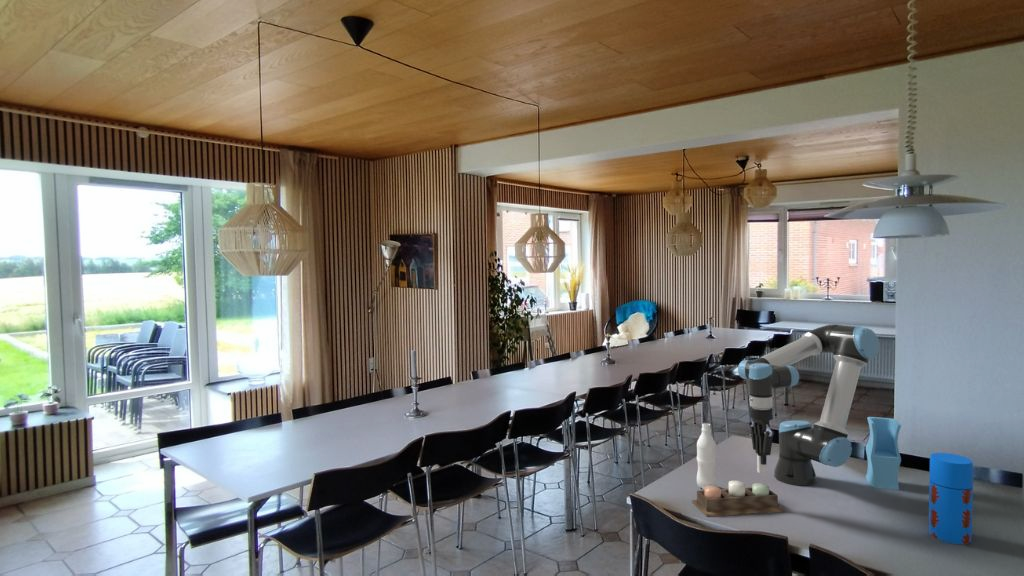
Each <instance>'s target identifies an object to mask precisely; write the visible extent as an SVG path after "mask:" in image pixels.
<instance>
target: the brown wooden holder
mask: <svg viewBox="0 0 1024 576" xmlns="http://www.w3.org/2000/svg"><path fill="white" fill-rule="evenodd" d="M720 489H721V488H720ZM778 497H779V496H778V494H776V493H775V492H773V491H772V490H771V489H769V495H762V496H757V495H755V494H754V493H753V492H752V487H745V497H732V496H730V495H729V488H723V489H721V498H712V499H708V498H707V497H706V496H705V490H703V489H701V490H696V499H692V500H691V503H692V504H693V505H694V506H695V507H696V508H697V509H698V510H699V511H701V513H703V515H704V516H705V517H718V516H719V517H720V516H735V515H736V516H737V515H750V514H751V513H754V514H766V513H767V514H768V513H769V512H770V513H781V512H784V509H783V508H782V507H781V506H780V505H778V504H779V501H778ZM751 515H752V514H751Z"/></svg>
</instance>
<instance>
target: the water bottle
mask: <svg viewBox="0 0 1024 576" xmlns="http://www.w3.org/2000/svg"><path fill="white" fill-rule="evenodd" d="M701 426H702V427H701V434H700V435H699V438H698V439H697V441H696V461H697V473H696V484H697V486H698V487H699V489H701V488H702V489H701V490H705V487H706V486H716V485H717V476H716V463H717V444H716V441H715V439H714V437H713V436H712V428H711V424H710V423H708V422H703V423H702V425H701ZM716 487H717V486H716Z"/></svg>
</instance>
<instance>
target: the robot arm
mask: <svg viewBox="0 0 1024 576" xmlns="http://www.w3.org/2000/svg"><path fill="white" fill-rule="evenodd" d="M879 350H880V341H879V338H878V335H877V334H876V332H875V331H873V330H872V329H871V328H868V327H863V326H854V325H853V326H852V325H842V324H835V323H834V324H827V325H823V326H819V327H817V328H813V329H812V330H809V331H807V332H804V333H803V334H802V335H801V338H798V339H797V340H794V341H792V342H790V343H788V344H785V345H784V346H782V347H779V348H777V349H776V350H773V351H771V352H769V353H767V354H764V355H763V356H760V357H758V358H756V359H754V360H751V359H743V360H742V361H740V363H739V364H738V366H737V374H738V376H739V377H740V378H742V379H744V380H747V381H748V385H749V399H748V401H749V406H750V407H749V417H750V418H751V419H752V421H749V422H748V425H749V428H750V436H751V443H752V449H753V451H755V453H756V472H757V473H758V474H766V473H767V471H768V470H767V456H771V453H772V445H773V439H774V438H773V437H774V436H775V431H774V430H771V428H770V427H771V425H770V421H771V420H773V418H774V416H773V413H774V412H773V411H774V410H773V407H774V406H773V402H774V401H773V390H778V389H783V388H790V387H794V386H796V385H798V383H799V380H800V374H799V371H798V370H797V368H795V366H792V365H793V364H796V363H798V362H799V361H802V360H805V359H806V358H808V357H810V356H819V355H820V354H826V353H827V354H833V355H832V358H833V359H834V360H835V364H834V368H833V372H832V375H831V379H830V381H829V386H828V390H827V393H826V398H825V399H824V401H825V402H824V405H823V407H822V411H821V415H820V419H819V420H818V421H817V422H814V424H813V425H812V422H811V421H806V420H786V421H782V422H781V423H780V424H779V427H778V428H779V429H778V460H777V463H776V465H775V468H774V470H773V471H774V472H773V473H774V474H773V475H774V478H775V479H776V480H778V481H780V482H783V483H786V484H789V485H796V486H811V485H814V484H816V483H817V474H816V472H815V468H814V465H813V462H812V461H814V462H817V463H820V464H822V465H824V466H829V467H833V468H839V467H841V466H843V465H844V464H846V463H847V462H848V461H849V459H850V457H851V455H852V452H853V447H852V442H851V441H850V440H849V439H848V436H849V433H848V431H847V430H846V425H847V422H848V419H849V414H850V410H851V408H852V405H853V399H854V395H855V393H856V389H857V384H858V382H859V381H858V380H859V377H860V374H861V370H862V368H864V367H866V366H868V362H869V360H872V359H874V358H876V357H877V356H878V353H879Z"/></svg>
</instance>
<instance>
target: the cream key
mask: <svg viewBox="0 0 1024 576" xmlns="http://www.w3.org/2000/svg"><path fill="white" fill-rule="evenodd" d="M745 488H746V483H745V482H744V481H740V480H730V481H728V489H729V495H730V496H732V497H745Z"/></svg>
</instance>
